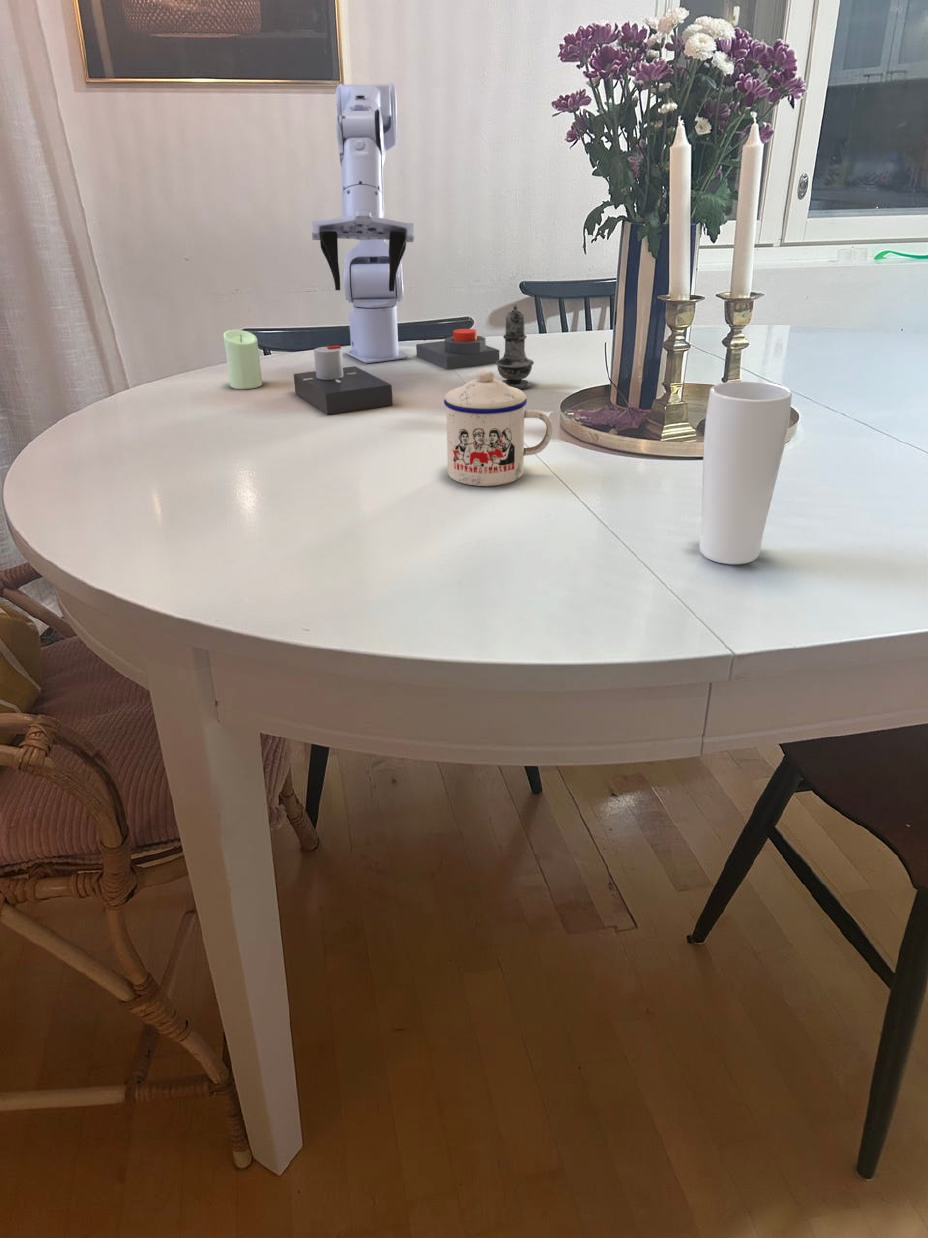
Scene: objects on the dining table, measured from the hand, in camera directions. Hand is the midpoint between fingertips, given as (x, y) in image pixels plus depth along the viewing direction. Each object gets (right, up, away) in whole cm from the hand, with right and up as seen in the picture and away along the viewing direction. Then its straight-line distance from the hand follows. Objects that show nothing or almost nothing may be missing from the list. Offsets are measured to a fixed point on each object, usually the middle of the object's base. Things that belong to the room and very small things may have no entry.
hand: (364, 287), depth 129 cm
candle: (-20, -11, +13) cm, 26 cm away
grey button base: (+13, -2, +27) cm, 30 cm away
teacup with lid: (+18, -31, -26) cm, 44 cm away
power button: (+14, -1, +23) cm, 27 cm away
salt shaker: (+22, -11, +11) cm, 27 cm away
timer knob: (-6, -12, +4) cm, 14 cm away
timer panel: (-4, -15, +5) cm, 16 cm away
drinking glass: (+38, -42, -47) cm, 73 cm away
